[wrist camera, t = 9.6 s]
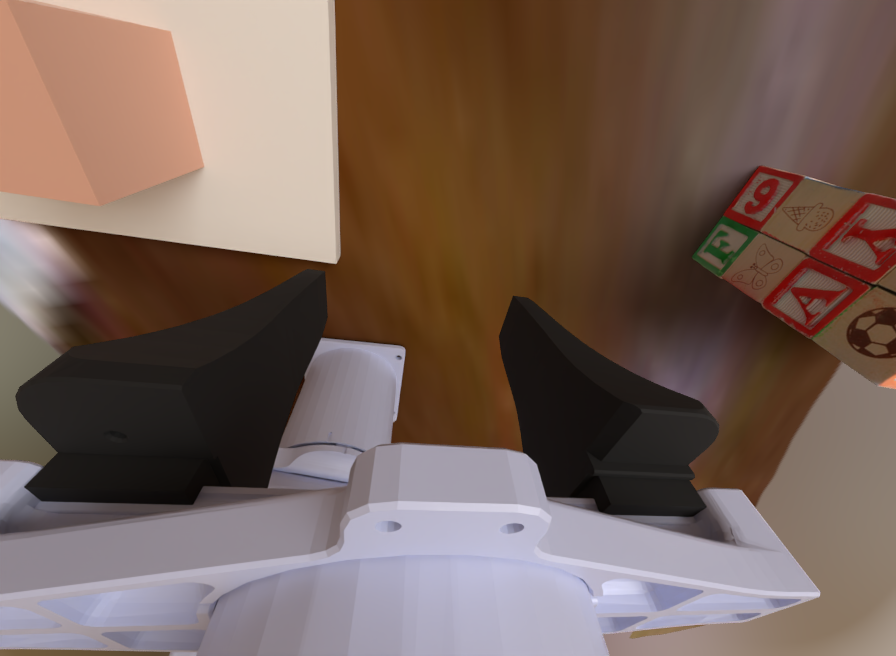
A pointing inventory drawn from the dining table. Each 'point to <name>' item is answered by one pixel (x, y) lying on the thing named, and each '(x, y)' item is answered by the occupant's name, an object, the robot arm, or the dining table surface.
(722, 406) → the dining table surface
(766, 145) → the dining table surface
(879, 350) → the stack of blocks
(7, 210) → the post board
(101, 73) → the salmon orange block
